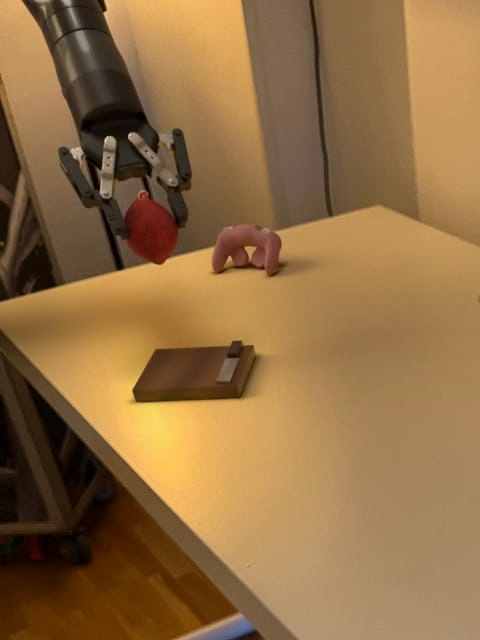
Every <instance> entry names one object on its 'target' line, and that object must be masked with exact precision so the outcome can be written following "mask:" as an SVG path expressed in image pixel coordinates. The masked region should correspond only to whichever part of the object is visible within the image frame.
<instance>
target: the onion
mask: <svg viewBox="0 0 480 640" xmlns="http://www.w3.org/2000/svg"><path fill="white" fill-rule="evenodd" d="M149 196H150V194H149V191H147V190H146V189H142V190H139V192H138V193H137V195H136V197H135V199H134V201H133V202H132V203H131V205H130V206H129V207H128V208H127V210H126V212H125V214H124V217H123V219H124V221H125V224H126V226H127V230H128V239H126V240H125V242H126V244H127V246H128V247H129V249H130V250H131V251H132V252H133V253H134V255H136V256H138V257H139V258H141V259H143V260H145V261H146V262H149V263H152V264H154V265H156V266H161V265H164V264H165V263H166V261H167V259H168V258H169V256H171V254H172V253H173V252H174V250H175V249H176V247H177V244H178V242H179V237H180V236H179V235H180V234H179V229H178V226H177V224H176V221H175V219H174V216H173V214H172V213H171V212H169V210H168V209H167V208H166V207H164V206H163V205H162V204H160V203H159V202H157V201H155V200H154V199H151V198H150V197H149Z"/></svg>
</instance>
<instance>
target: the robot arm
mask: <svg viewBox="0 0 480 640" xmlns="http://www.w3.org/2000/svg"><path fill="white" fill-rule="evenodd" d="M20 1H21V2H22V3H23V5H24V6H25V8H26V9H27V10H28V12H29V14H30V15H31V17H32V18H33V19H34V21H35V22H36V24H37V26H38V27H39V29H40V30H41V33H42V36H43V39H44V41H45V44H46V47H47V49H48V51H49V53H50V56H51V58H52V61H53V65H54V69H55V73H56V77H57V81H58V83H59V86H60V90H61V94H62V96H63V98H64V100H65V101H66V104H67V106H68V109H69V111H70V114H71V117H72V119H73V121H74V124H75V126H76V129H77V132H78V134H79V137H80V139H81V141H80V146H78V147H74V148H71V149H69V147H66V146H60V147H59V148H58V149H57V154H58V159H59V166H60V168H61V170H62V172H63V173H64V175H65V177H66V179H67V180H68V182H69V184H70V185H71V188H72V189H73V190H74V192H75V194H76V195H77V197H78V199H79V201H80V202H81V204H82V206H83V207H84V208H86V209H88V210H89V209H93V208H99V209H101V210H102V211H103V213H104V214H105V217H106V221H107V223H108V226H109V228H110V231H111V233H112V234H113V235H114V236H115V237H118V236H119V238H120V240H121V241H126V239H128V230H127V226H126V224H125V221H124V217H123V214H122V211H121V207H120V206H119V204H118V201H117V198H115V193H116V183H117V182H118V183H120V182H126V181H128V180H129V179H142V178H147V180H149V181H150V182H151V183H152V184H153V185H154V186H155V187H158V188H159V189H160V190H161V191H162V192H163V193H164V194H165V195H166V197H167V199H166V201H167V203H168V206H169V209H170V211H171V215H172V216H173V218H174V219H175V221H176V224H177V226H178V230H182V229H186V224H187V223H189V208H188V206H187V204H186V201H185V199H184V197H183V196H184V195H183V193H182V192H185V191H186V192H188V191H190V190H191V189H192V179H193V171H192V166H191V162H190V159H189V158H190V157H189V154H188V149H187V144H186V139H185V134H184V132H183V130H182V129H181V128H177V127H176V128H173V129H172V131H171V133H159V132H157V130H156V129H154V128H153V127H152V126H151V123H150V121H149V118H148V116H147V114H146V112H145V108H144V107H143V104H142V101H141V99H140V97H139V94H138V91H137V89H136V87H135V84H134V81H133V79H132V76H131V74H130V71H129V69H128V67H127V64H126V62H125V59H124V57H123V55H122V54H121V51H120V50H119V48H118V47H117V44H116V42H115V40H114V37H113V35H112V32H111V30H110V27H109V24H108V21H107V19H106V17H105V14H104V12H103V9H102V7H101V5H100V3H99V1H98V0H20ZM160 147H161V148H163V149H165V151H166V153H167V154H168V155H169V156H170V157H173V158H174V163H175V168H176V173H177V174H176V175H174V174H173V172H171V171H170V170H169V169H168V167H167V166H166V164H165V162H164V161H163V160H162V158H160V157H159V155H158V152H159V149H160ZM84 160H85V161H87V162H88V163H89V164H91V165H92V166H93V167H95V168H96V169H98V170H99V171H100V172H101V179H100V189H95V188H94V189H93V187H92V186H91V184H90V183H89V181H88V179H87V177H86V176H85V174H84V172H83V170H84V163H83V161H84Z"/></svg>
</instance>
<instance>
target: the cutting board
mask: <svg viewBox="0 0 480 640" xmlns="http://www.w3.org/2000/svg"><path fill="white" fill-rule="evenodd" d="M256 357H257V355H256V350H255V345H254V344H244V343H243V340H232V341H231V343H230V344H229V345H222V346H221V345H219V346H217V345H216V346H198V347H196V346H195V347H172V348H170V347H169V348H156V349H155V350H154V351H153V353H152V354H151V356H150V358H149V360H148V362H147V363H146V365H145V367H144V369H143V370H142V372H141V374H140V375H139V378H138V379H137V381H136V382H135V383H134V386H133V388H132V389H131V390H132V394H133V399H134V401H135V403H136V402H161V401H162V402H163V401H164V402H165V401H185V400H187V401H188V400H209V399H210V400H212V399H236V398H240V397H241V395H242V392H243V390H244V387H245V385H246V382H247V380H248V378H249V375H250V372H251V369H252V367H253V365H254V361H255V359H256Z"/></svg>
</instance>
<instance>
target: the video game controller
mask: <svg viewBox="0 0 480 640" xmlns="http://www.w3.org/2000/svg"><path fill="white" fill-rule="evenodd" d="M282 246H283V242H282V238H281V236H280V235H279V234H278V233H276V232H275V231H273V230H271V229H270V228H267V227H264V226H262V225H259V224H252V223H251V224H250V223H239V224H237V225H232V226H228V227H227V226H225V227H223V228H222V231H220V232H219V234H218V236H217V239H216V242H215V245H214V248H213V252H212V256H211V268H212V270H213V271H214V273H215V274H216V273H220V272H221V271H222V270H223V269H224V267H225V266H226V263H227V262H228V259H229V257H230V258H231V261H232V263H233V264H234V265H235V266H239V267H246V266H247V265H248V264H249V261H250V256H249V253H248V252H247V250H246V249H245V248H247V247H253V248H255V250H254V251H253V252H252V254H251V262H252V265H254V266H255V267H257V268H260V269H261V268H263V269H264V270H265V273H266V274H267V276H272V275H274V273H275V272H276V270H277V267H278V265H279V259H280V252H281V250H282Z"/></svg>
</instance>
